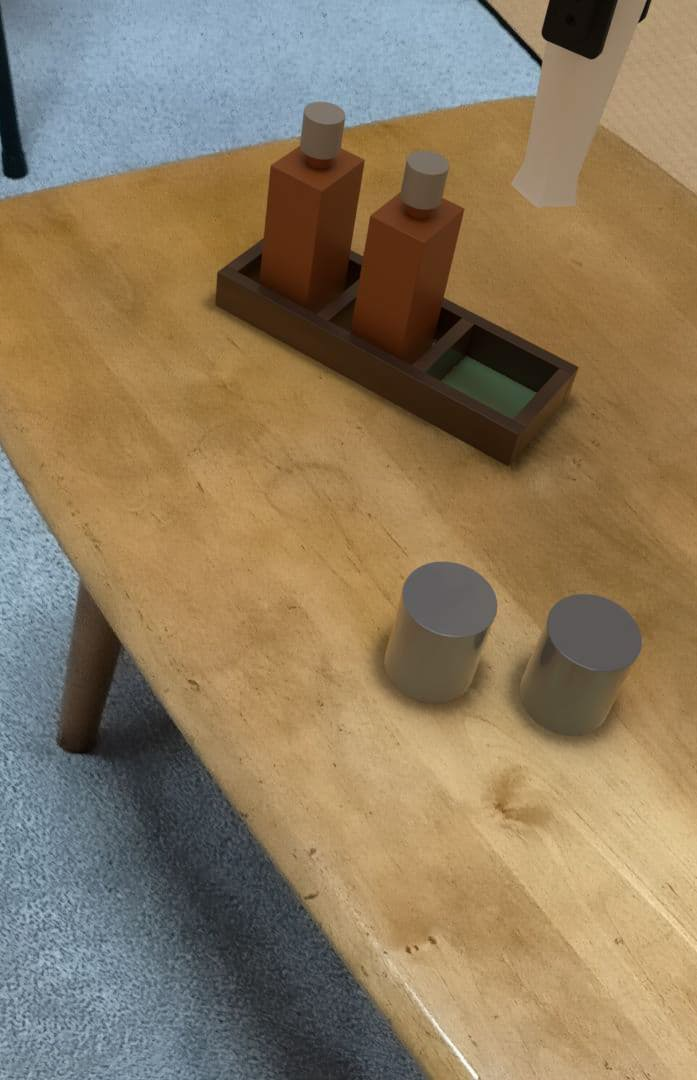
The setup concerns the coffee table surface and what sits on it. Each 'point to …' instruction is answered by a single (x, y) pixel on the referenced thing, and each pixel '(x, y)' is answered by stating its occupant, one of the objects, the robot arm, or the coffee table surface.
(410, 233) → the amber bottle
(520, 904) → the coffee table surface
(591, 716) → the grey jar
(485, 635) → the grey upright cylinder
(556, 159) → the perfume bottle
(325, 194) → the amber bottle
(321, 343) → the rack
